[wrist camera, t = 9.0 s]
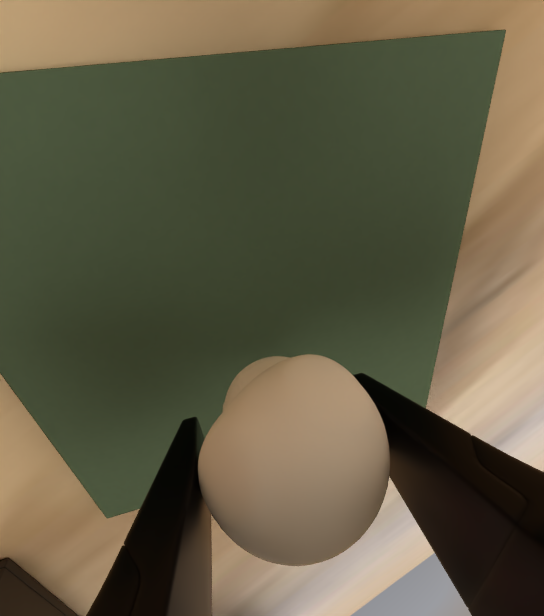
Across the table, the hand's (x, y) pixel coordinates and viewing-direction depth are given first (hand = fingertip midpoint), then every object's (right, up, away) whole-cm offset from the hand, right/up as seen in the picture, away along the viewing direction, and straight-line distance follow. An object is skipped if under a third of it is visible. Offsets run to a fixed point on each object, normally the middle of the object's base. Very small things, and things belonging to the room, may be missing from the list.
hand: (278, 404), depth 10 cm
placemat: (-1, +2, +3) cm, 4 cm away
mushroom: (0, +1, +1) cm, 1 cm away
